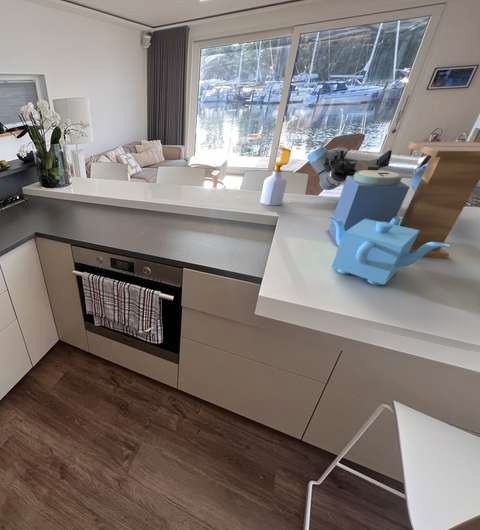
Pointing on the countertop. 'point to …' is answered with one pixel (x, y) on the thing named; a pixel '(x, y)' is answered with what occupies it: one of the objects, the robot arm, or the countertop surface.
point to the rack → (442, 191)
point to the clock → (374, 174)
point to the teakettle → (377, 249)
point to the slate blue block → (367, 203)
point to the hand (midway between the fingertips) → (365, 154)
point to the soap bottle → (275, 182)
